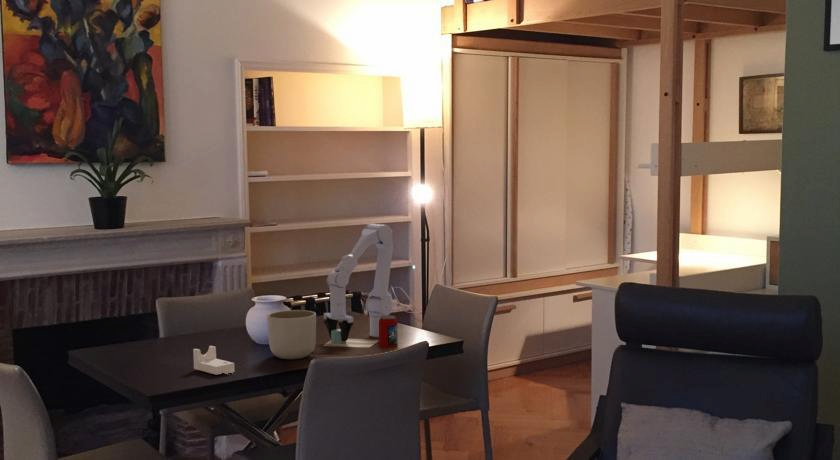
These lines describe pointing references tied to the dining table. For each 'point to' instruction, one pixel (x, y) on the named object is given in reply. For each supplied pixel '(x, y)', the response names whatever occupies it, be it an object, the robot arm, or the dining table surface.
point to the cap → (336, 336)
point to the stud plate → (354, 343)
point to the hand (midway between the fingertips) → (338, 339)
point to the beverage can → (388, 332)
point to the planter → (292, 333)
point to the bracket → (211, 362)
